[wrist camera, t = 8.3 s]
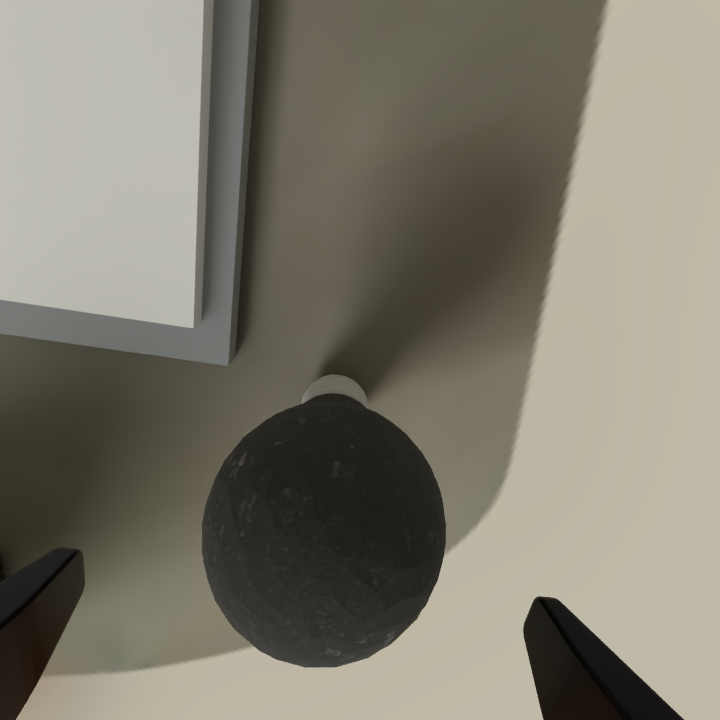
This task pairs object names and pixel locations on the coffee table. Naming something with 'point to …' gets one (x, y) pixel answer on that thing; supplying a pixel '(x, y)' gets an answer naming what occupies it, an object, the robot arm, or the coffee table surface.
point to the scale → (125, 172)
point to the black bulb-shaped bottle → (324, 530)
